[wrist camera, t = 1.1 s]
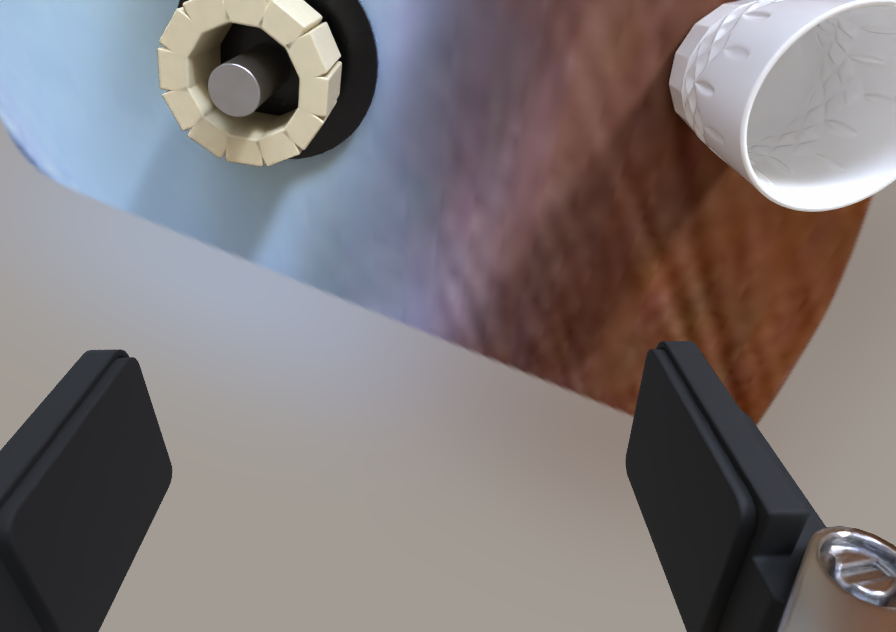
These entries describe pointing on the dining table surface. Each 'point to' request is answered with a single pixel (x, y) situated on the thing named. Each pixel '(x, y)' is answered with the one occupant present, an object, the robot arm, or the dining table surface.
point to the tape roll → (198, 53)
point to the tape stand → (277, 83)
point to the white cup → (795, 96)
